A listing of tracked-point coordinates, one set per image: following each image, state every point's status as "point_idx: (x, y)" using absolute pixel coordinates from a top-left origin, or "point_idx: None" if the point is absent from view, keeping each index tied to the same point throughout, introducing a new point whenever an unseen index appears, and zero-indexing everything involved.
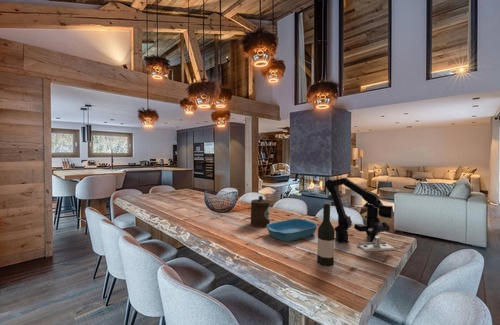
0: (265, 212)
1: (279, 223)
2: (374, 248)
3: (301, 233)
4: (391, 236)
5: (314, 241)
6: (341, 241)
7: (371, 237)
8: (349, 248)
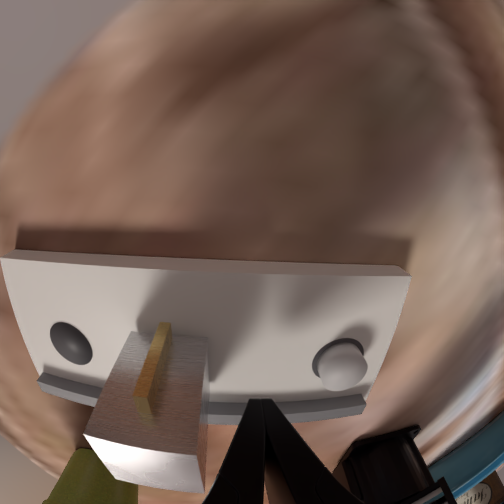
0: (488, 494)
1: (486, 471)
2: (276, 284)
3: None
4: (2, 424)
5: (490, 405)
6: (406, 433)
7: (305, 463)
8: (457, 337)
